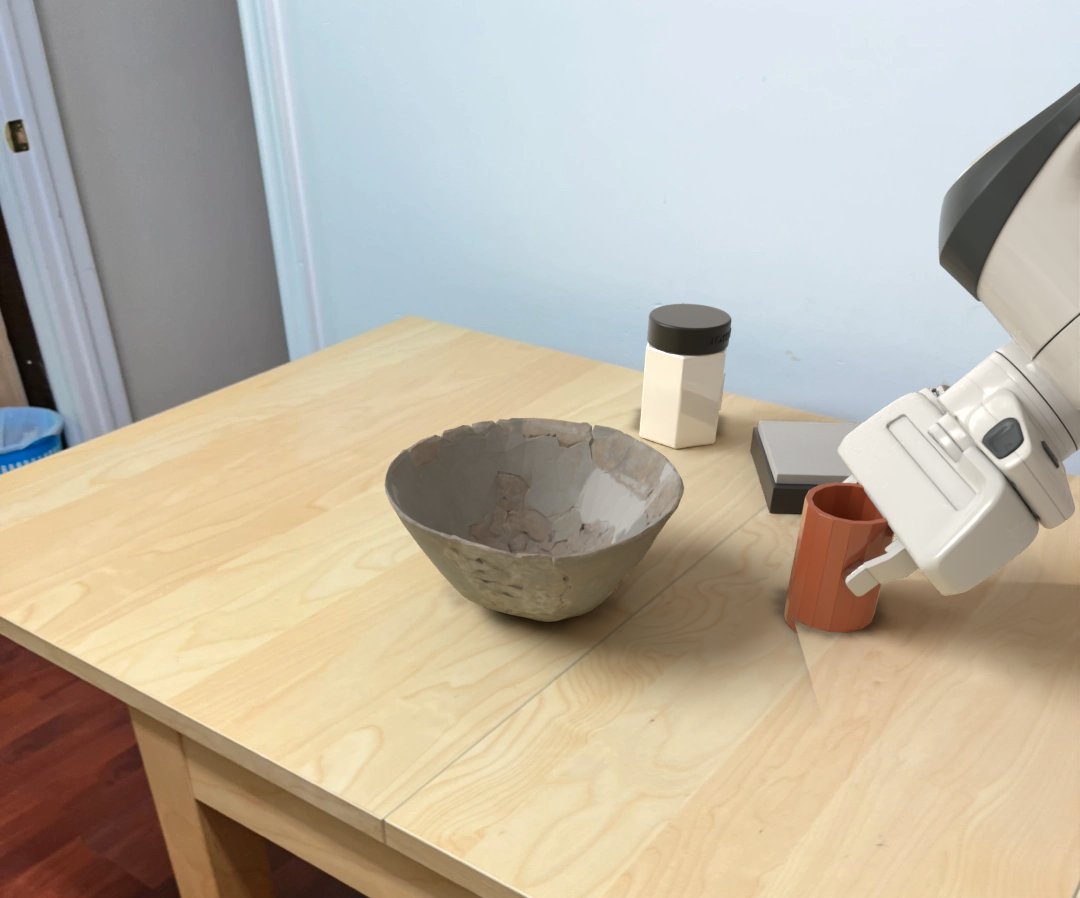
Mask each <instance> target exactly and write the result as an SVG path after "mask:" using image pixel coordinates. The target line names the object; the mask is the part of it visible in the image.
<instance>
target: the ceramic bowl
mask: <svg viewBox="0 0 1080 898" xmlns="http://www.w3.org/2000/svg"><path fill="white" fill-rule="evenodd" d="M384 480H385V481H384V491H385V495H386V497H387V499H388V502H389V504H390V505H391V507H392V509H393V510H394V512H395V513H396V515H397V517H398V519H399V520H400V522H401V523H402V525H403V526H404V528H405V529H406V530H407V532H408V533H409V534H410V536H411V537H412V539H413V540H414V541H415V542H416V544H417V545H418V546H419V548H420V550H421V551H422V552H423V553H424V554H425V555H426V557H427V558H428V559H429V560H430V562H431V563H432V564H433V566H434V567H435V568H436V570H438V572H439V573H440V574H441V575H442V576H443V577H444V578H445V579H446V580H447V581H448V583H449V584H450V585H451V586H452V587H453V588H454V590H456V591H457V592H458V594H459V595H461V596H462V597H463V598H465V599H467V600H468V601H469V602H471V603H474V604H476V605H479V606H481V607H483V608H486V609H489V610H492V611H496V612H499V613H503V614H507V615H510V616H516V617H521V618H526V619H530V620H534V621H538V622H545V623H552V622H559V621H563V620H565V619H570V618H574V617H578V616H582V615H585V614H587V613H590V612H592V611H593V610H594V609H596V608H597V607H599V606H600V605H601V604H603V603H604V602H605V601H606V600H607V598H608V597H610V596H611V595H612V594H613V593H614V592H616V591H617V588H618V587H619V586H621V584H622V583H623V581H624V580H625V579H626V578H627V576H628V575H630V574H631V573H632V572H633V571H634V570H635V568H637V566H638V565H639V564H640V563H641V561H642V560H643V559H644V557H645V556H646V554H647V553H648V552H649V550H650V549H651V547H652V545H653V544H654V543H655V540H656V539H657V537H658V536H659V534H660V533H661V531H662V530H663V528H664V527H665V526H666V524H667V522H668V521H669V520H670V518H671V517H672V516H673V514H674V513H675V512H676V511H677V510H678V508H679V506H680V504H681V503H680V502H681V500H682V498H683V495H684V492H685V486H684V481H683V479H682V477H681V475H680V474H679V472H678V470H677V468H676V466H675V465H674V464H673V463H672V462H671V461H670V460H669V458H667V456H665V455H664V454H662V453H661V452H660V451H658V450H656V448H654V447H653V446H650V445H648V444H647V443H645V442H643V441H642V440H638V439H637V438H635V437H634V436H632V435H630V434H628V433H624V432H623V431H622V430H619V429H618V428H613V427H610V426H606V425H605V426H604V425H599V424H594V426H592V425H591V424H590V423H589V422H588V421H587V422H586V421H585V422H576V421H570V420H569V421H568V420H563V419H556V418H555V419H554V418H543V417H510V418H508V419H502V418H499V419H498V420H497V421H496V422H495V421H494V420H484V421H483V420H482V421H479V422H475V423H471V425H469V424H462V425H460V426H459V425H458V426H456V427H453V428H450V429H445V430H443V432H442V434H441V435H437V434H433V435H431V436H427V437H425V438H421V439H420V440H418V441H417V442H415V443H414V444H413V445H411V446H409V447H408V448H405V449H402V450H401V452H400V453H399V454H398V455H397V456H395V458H394V459H393V460H392V461H391V462H390V463H389V466H388V468H387V471H386V474H385V478H384Z"/></svg>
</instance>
